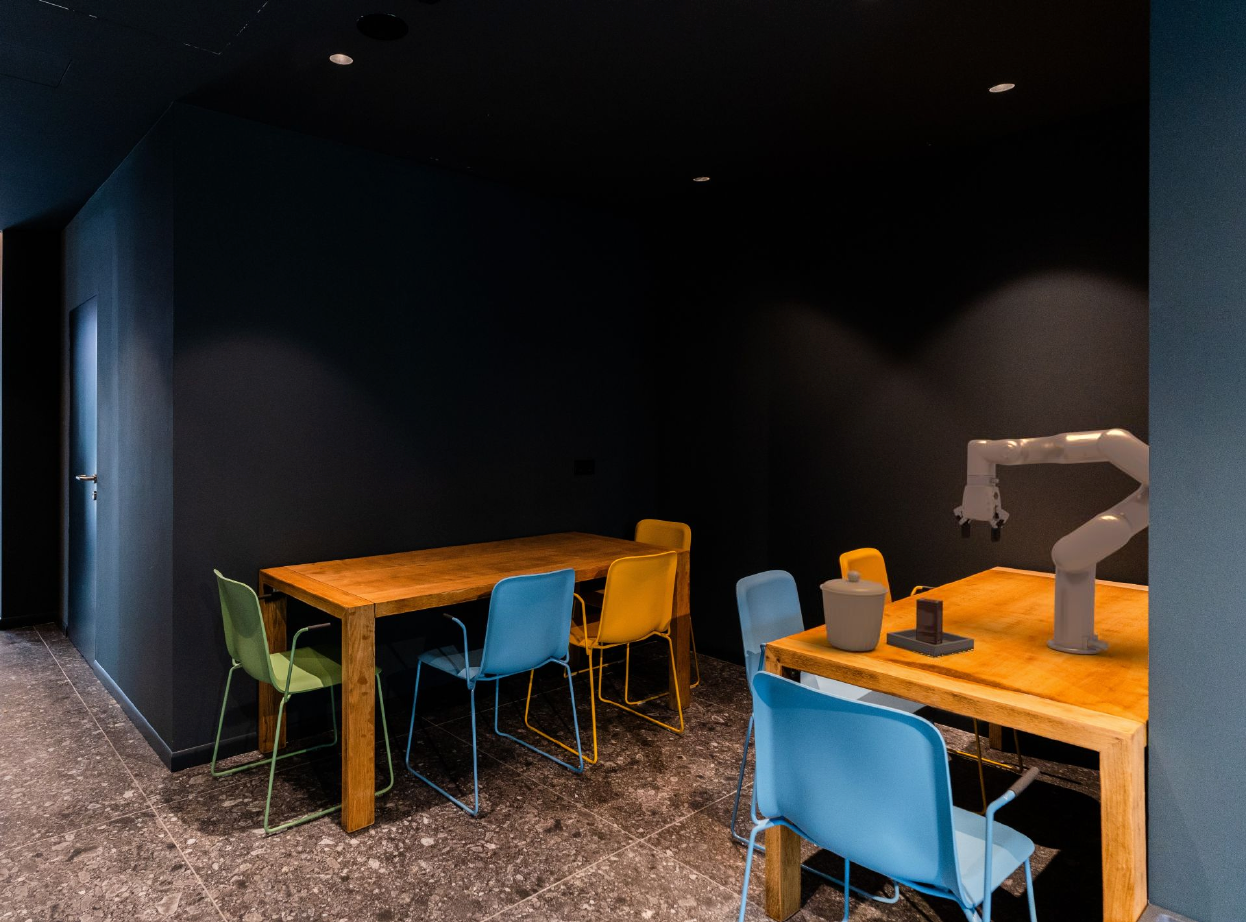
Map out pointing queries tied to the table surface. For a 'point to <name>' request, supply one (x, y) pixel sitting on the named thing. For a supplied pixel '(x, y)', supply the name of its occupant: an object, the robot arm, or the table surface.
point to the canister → (853, 612)
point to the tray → (948, 646)
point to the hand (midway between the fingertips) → (980, 539)
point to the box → (929, 621)
